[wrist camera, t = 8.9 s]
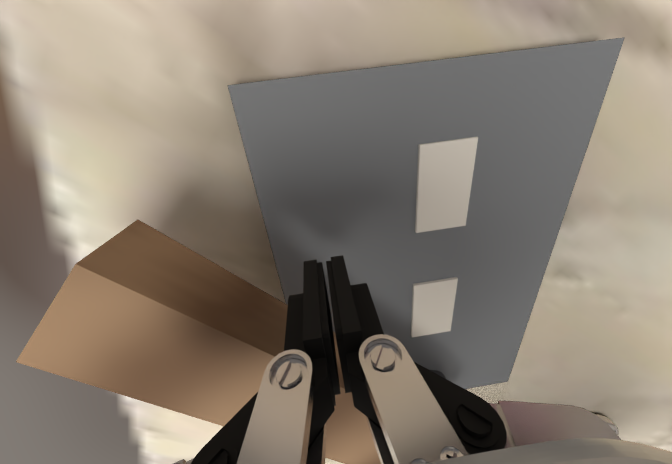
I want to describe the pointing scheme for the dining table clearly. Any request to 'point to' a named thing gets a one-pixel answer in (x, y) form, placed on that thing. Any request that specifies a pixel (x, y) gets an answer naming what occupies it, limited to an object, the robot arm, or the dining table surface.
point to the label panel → (429, 188)
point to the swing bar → (175, 335)
